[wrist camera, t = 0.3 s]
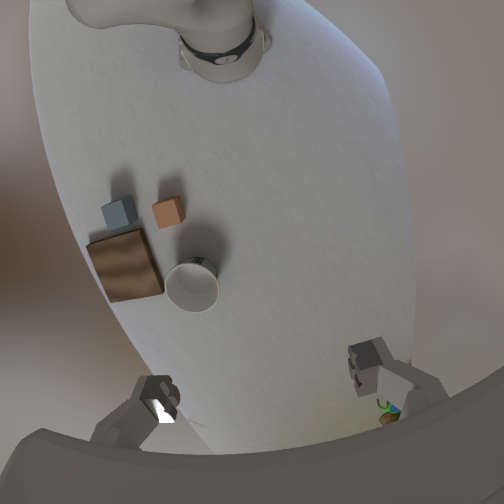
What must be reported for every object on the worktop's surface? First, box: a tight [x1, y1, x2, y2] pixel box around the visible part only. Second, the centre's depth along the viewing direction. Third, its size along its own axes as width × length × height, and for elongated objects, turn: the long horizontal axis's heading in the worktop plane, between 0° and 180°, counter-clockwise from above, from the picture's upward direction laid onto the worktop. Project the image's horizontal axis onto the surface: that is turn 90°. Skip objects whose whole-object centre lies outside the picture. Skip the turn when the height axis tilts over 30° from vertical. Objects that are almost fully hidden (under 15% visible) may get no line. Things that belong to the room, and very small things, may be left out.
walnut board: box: [86, 228, 165, 303], centre depth 60 cm, size 16×16×2 cm
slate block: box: [101, 195, 138, 231], centre depth 54 cm, size 6×6×5 cm
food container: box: [164, 257, 220, 313], centre depth 59 cm, size 12×12×6 cm
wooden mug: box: [379, 412, 400, 426], centre depth 77 cm, size 9×14×18 cm, turn 122°
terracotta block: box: [152, 196, 185, 229], centre depth 54 cm, size 5×5×4 cm
